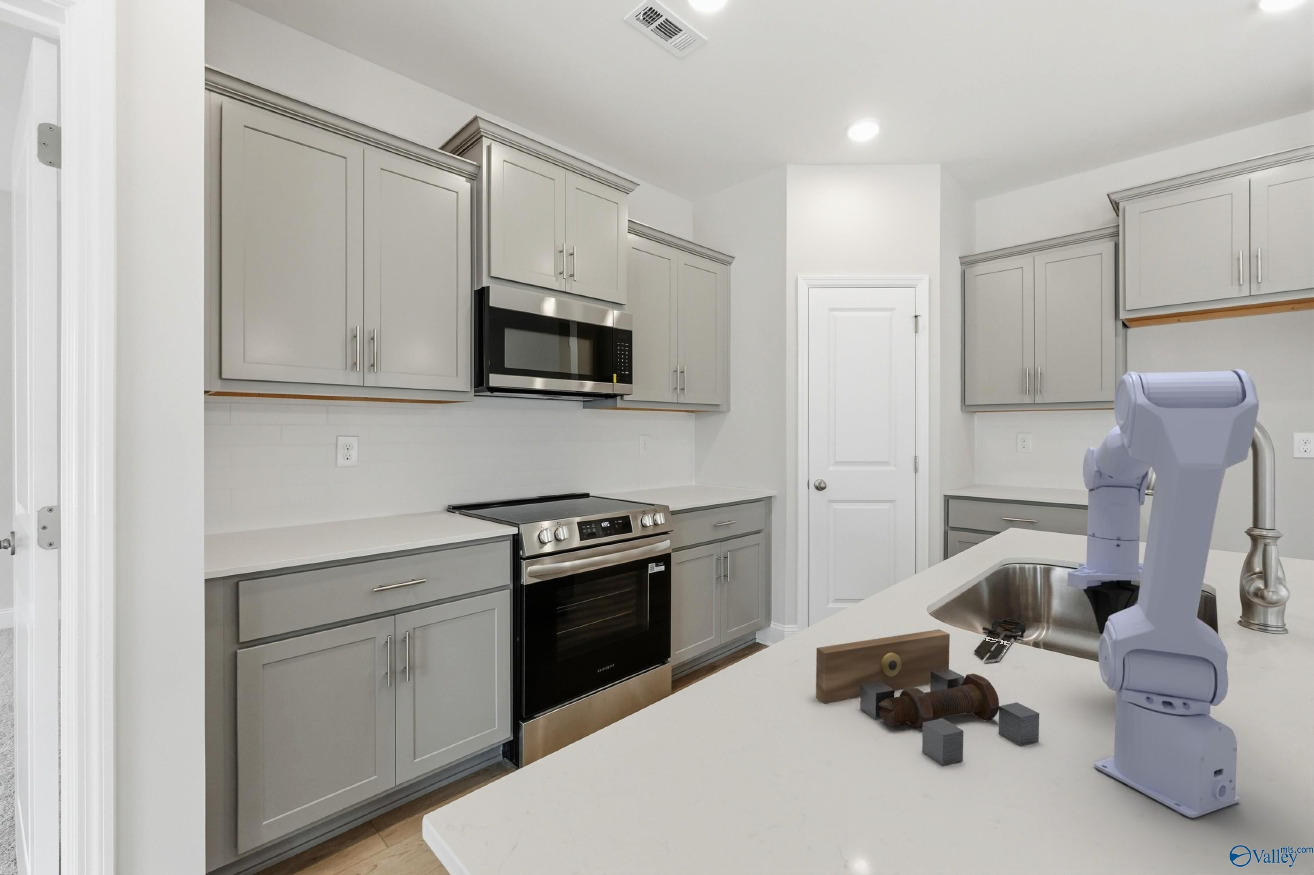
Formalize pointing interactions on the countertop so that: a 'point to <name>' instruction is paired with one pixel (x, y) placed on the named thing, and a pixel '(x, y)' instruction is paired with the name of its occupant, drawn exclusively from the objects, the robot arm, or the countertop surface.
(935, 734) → the gray stone cubes
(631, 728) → the countertop surface
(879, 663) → the aperture board
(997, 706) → the bolt
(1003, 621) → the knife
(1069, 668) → the countertop surface
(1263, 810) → the countertop surface
